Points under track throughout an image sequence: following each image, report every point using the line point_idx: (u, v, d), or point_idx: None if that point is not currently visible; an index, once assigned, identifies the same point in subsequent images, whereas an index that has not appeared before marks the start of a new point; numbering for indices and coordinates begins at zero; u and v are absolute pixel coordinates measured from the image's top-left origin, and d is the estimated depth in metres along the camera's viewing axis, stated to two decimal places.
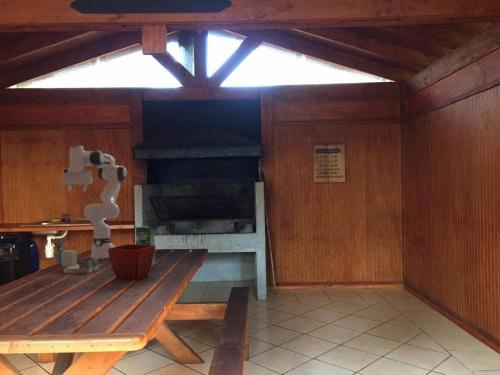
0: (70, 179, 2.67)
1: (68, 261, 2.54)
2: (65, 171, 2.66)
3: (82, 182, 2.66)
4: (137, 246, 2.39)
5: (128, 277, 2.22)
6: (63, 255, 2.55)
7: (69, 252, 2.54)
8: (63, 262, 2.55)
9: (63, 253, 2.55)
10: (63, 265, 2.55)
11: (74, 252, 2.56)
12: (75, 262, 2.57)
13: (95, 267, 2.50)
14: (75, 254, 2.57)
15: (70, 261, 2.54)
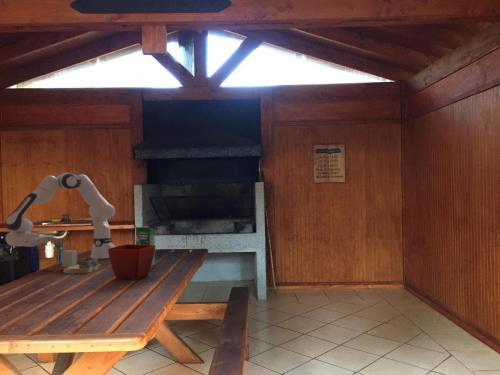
0: None
1: (68, 261, 2.54)
2: None
3: (38, 243, 2.55)
4: (137, 246, 2.39)
5: (128, 277, 2.22)
6: (63, 255, 2.55)
7: (69, 252, 2.54)
8: (63, 262, 2.55)
9: (63, 253, 2.55)
10: (63, 265, 2.55)
11: (74, 252, 2.56)
12: (75, 262, 2.57)
13: (95, 267, 2.50)
14: (75, 254, 2.57)
15: (70, 261, 2.54)
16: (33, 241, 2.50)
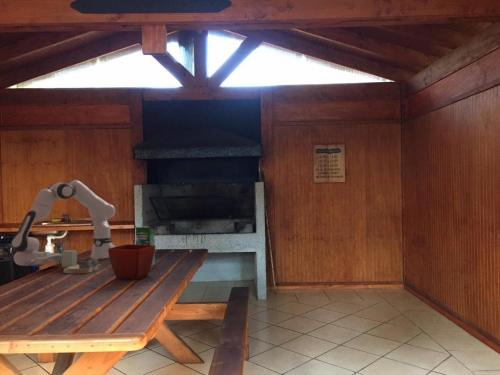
0: None
1: (68, 261, 2.54)
2: None
3: None
4: (137, 246, 2.39)
5: (128, 277, 2.22)
6: (63, 255, 2.55)
7: (69, 252, 2.54)
8: (63, 262, 2.55)
9: (63, 253, 2.55)
10: (63, 265, 2.55)
11: (74, 252, 2.56)
12: (75, 262, 2.57)
13: (95, 267, 2.50)
14: (75, 254, 2.57)
15: (70, 261, 2.54)
16: (41, 261, 2.49)
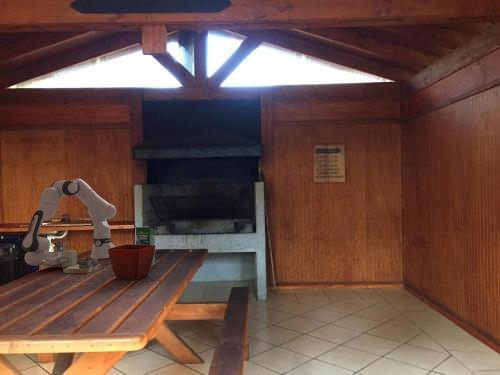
0: None
1: (68, 261, 2.54)
2: None
3: None
4: (137, 246, 2.39)
5: (128, 277, 2.22)
6: (63, 255, 2.55)
7: (69, 252, 2.54)
8: (63, 262, 2.55)
9: (63, 253, 2.55)
10: (63, 265, 2.55)
11: (74, 252, 2.56)
12: (75, 262, 2.57)
13: (95, 267, 2.50)
14: (75, 254, 2.57)
15: (70, 261, 2.54)
16: (53, 261, 2.48)
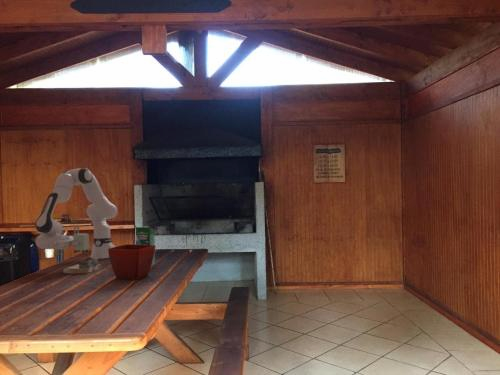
0: None
1: (80, 244, 2.48)
2: None
3: None
4: (137, 246, 2.39)
5: (128, 277, 2.22)
6: (75, 238, 2.49)
7: (81, 235, 2.48)
8: (75, 245, 2.49)
9: (75, 236, 2.49)
10: (75, 248, 2.49)
11: (86, 235, 2.50)
12: (87, 246, 2.51)
13: (95, 267, 2.50)
14: (87, 238, 2.51)
15: (82, 245, 2.48)
16: (64, 244, 2.42)
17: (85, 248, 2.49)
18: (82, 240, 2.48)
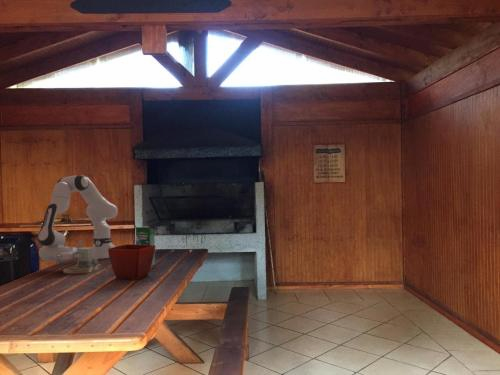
0: None
1: (83, 258, 2.47)
2: None
3: None
4: (137, 246, 2.39)
5: (128, 277, 2.22)
6: (79, 252, 2.48)
7: (85, 249, 2.47)
8: (79, 259, 2.48)
9: (79, 250, 2.48)
10: None
11: (90, 249, 2.50)
12: None
13: (95, 267, 2.50)
14: (91, 252, 2.50)
15: (86, 259, 2.47)
16: (68, 256, 2.41)
17: None
18: (86, 254, 2.47)
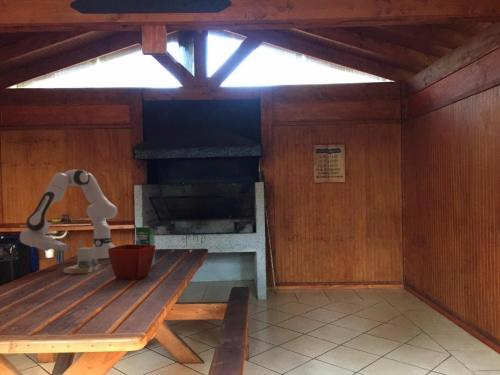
0: None
1: (83, 258, 2.47)
2: None
3: (56, 249, 2.51)
4: (137, 246, 2.39)
5: (128, 277, 2.22)
6: (79, 252, 2.48)
7: (85, 249, 2.47)
8: (79, 260, 2.48)
9: (79, 250, 2.48)
10: None
11: (90, 249, 2.49)
12: None
13: (95, 267, 2.50)
14: (91, 252, 2.50)
15: (86, 259, 2.47)
16: (55, 246, 2.46)
17: None
18: (86, 254, 2.47)
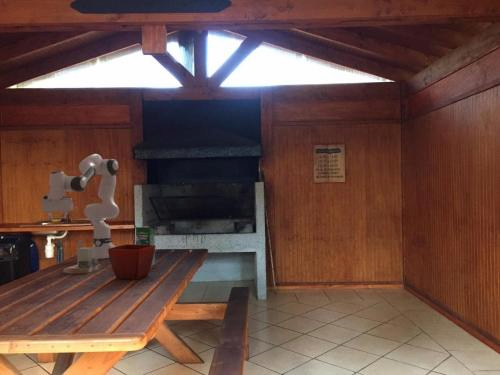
0: (50, 206, 2.59)
1: (83, 258, 2.47)
2: (45, 198, 2.58)
3: (62, 209, 2.58)
4: (137, 246, 2.39)
5: (128, 277, 2.22)
6: (79, 252, 2.48)
7: (85, 249, 2.47)
8: (79, 260, 2.48)
9: (79, 250, 2.48)
10: None
11: (90, 249, 2.49)
12: None
13: (95, 267, 2.50)
14: (91, 252, 2.50)
15: (86, 259, 2.47)
16: (71, 210, 2.59)
17: None
18: (86, 254, 2.47)
